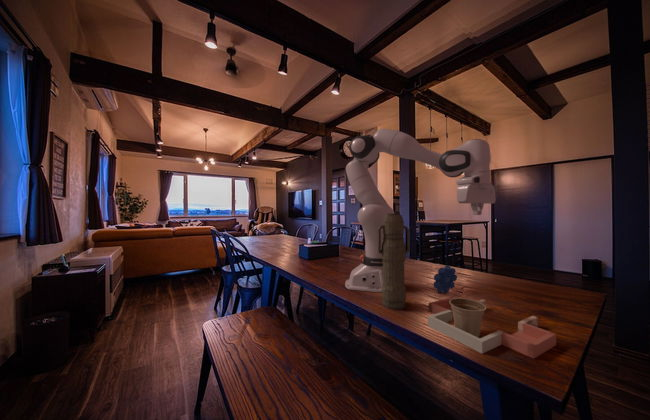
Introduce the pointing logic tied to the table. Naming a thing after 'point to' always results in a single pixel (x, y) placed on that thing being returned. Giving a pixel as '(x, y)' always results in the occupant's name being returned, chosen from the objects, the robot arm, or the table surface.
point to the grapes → (445, 279)
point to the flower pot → (468, 315)
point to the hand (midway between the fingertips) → (477, 215)
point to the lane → (530, 320)
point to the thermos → (393, 260)
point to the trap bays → (526, 343)
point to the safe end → (464, 333)
